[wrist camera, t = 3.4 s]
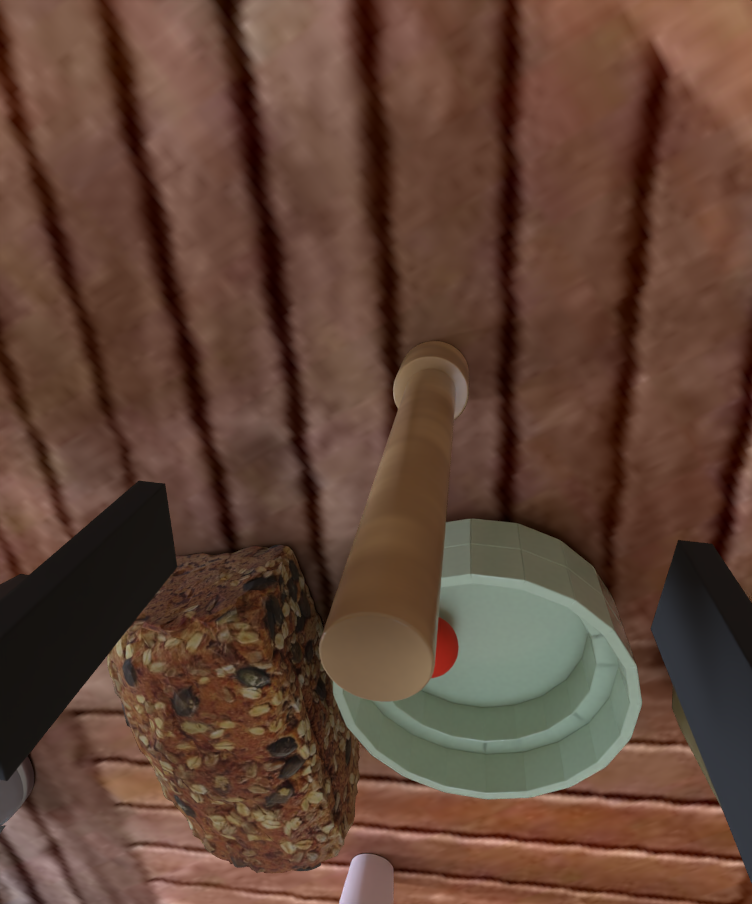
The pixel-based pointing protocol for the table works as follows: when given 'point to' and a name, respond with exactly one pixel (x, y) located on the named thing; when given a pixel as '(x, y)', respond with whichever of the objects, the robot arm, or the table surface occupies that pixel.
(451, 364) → the muddler
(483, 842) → the table surface
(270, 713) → the bread
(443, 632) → the cherry tomato
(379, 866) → the smoothie
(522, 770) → the bowl
